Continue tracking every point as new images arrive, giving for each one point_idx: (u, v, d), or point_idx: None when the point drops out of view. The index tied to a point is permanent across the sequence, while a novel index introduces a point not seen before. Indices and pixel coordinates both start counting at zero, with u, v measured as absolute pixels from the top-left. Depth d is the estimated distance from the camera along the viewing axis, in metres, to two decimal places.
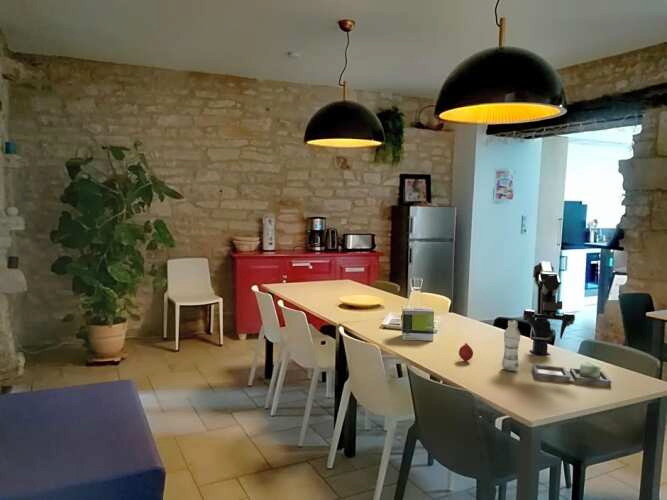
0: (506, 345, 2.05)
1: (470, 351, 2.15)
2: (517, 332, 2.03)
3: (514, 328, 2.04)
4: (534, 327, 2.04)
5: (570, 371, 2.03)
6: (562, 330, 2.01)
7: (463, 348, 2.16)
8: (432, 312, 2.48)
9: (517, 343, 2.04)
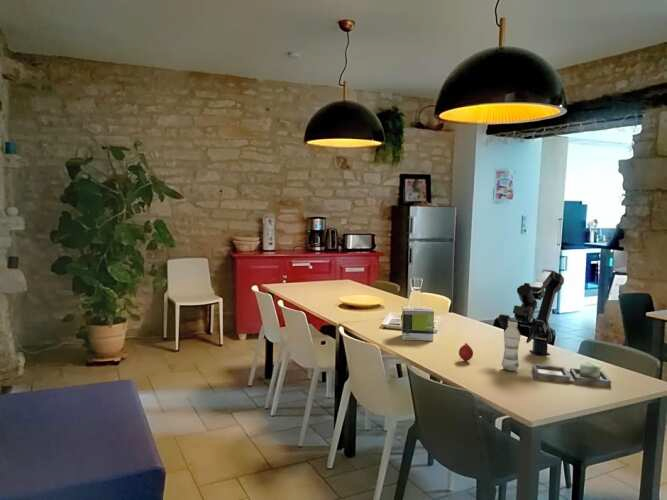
0: (506, 345, 2.05)
1: (470, 351, 2.15)
2: (517, 332, 2.03)
3: (514, 328, 2.04)
4: (504, 330, 2.14)
5: (570, 371, 2.03)
6: (529, 335, 2.07)
7: (463, 348, 2.16)
8: (432, 312, 2.48)
9: (517, 343, 2.04)
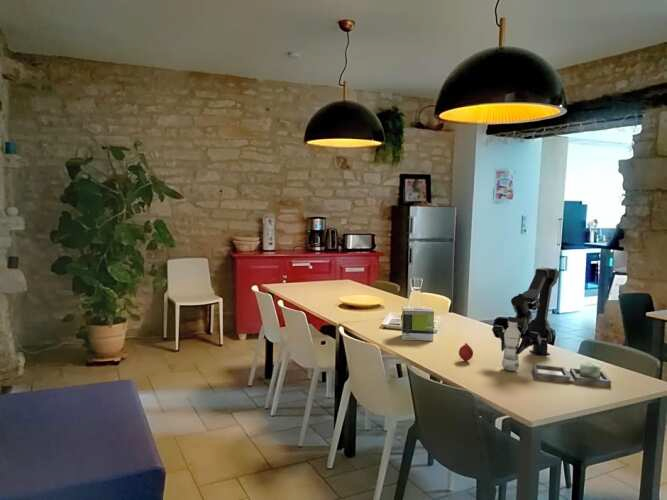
0: (506, 345, 2.05)
1: (470, 351, 2.15)
2: (517, 332, 2.03)
3: (514, 328, 2.04)
4: (502, 342, 2.09)
5: (570, 371, 2.03)
6: (520, 346, 2.04)
7: (463, 348, 2.16)
8: (432, 312, 2.48)
9: (517, 343, 2.04)
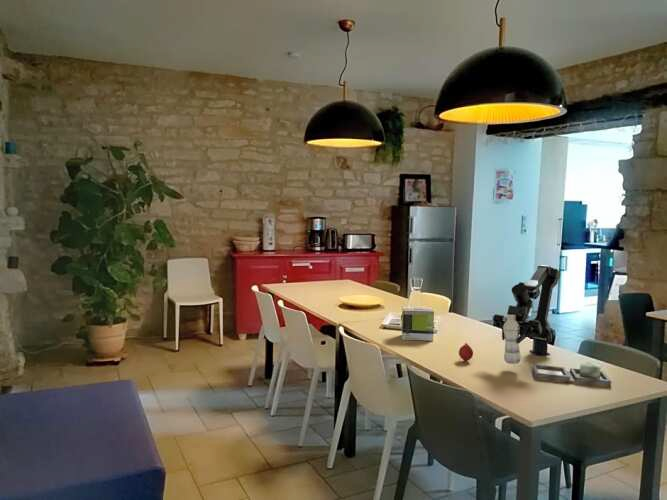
0: (506, 338, 2.05)
1: (470, 351, 2.15)
2: (516, 324, 2.03)
3: (512, 320, 2.04)
4: (503, 331, 2.08)
5: (570, 371, 2.03)
6: (520, 335, 2.04)
7: (463, 348, 2.16)
8: (432, 312, 2.48)
9: (517, 335, 2.03)
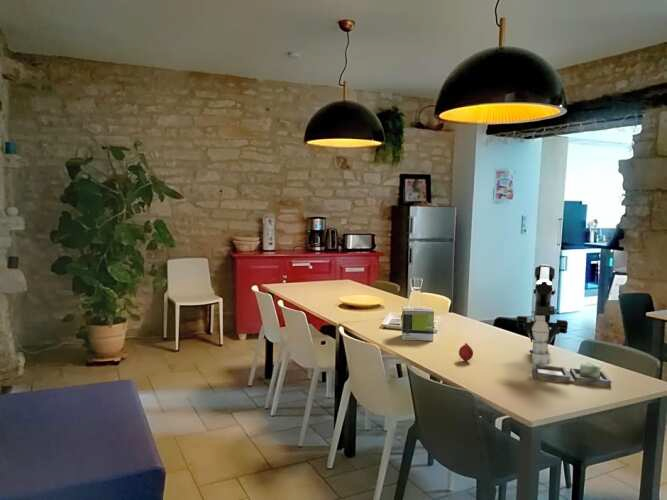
0: (537, 340, 1.99)
1: (470, 351, 2.15)
2: (547, 325, 1.98)
3: (543, 321, 1.98)
4: (530, 333, 2.02)
5: (570, 371, 2.03)
6: (550, 335, 1.99)
7: (463, 348, 2.16)
8: (432, 312, 2.48)
9: (547, 336, 1.99)
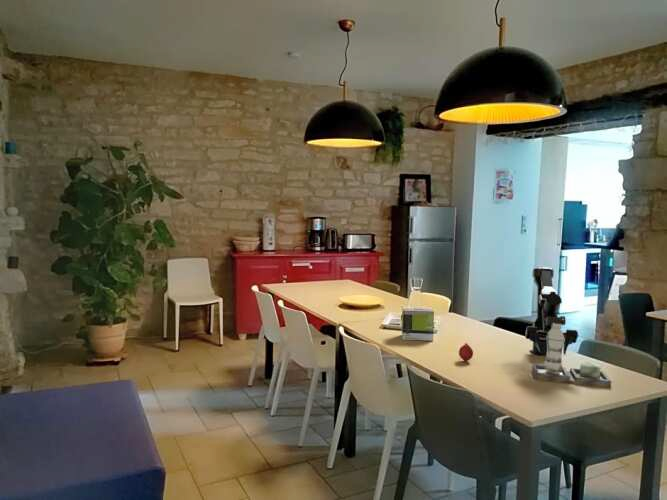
0: (552, 348, 1.98)
1: (470, 351, 2.15)
2: (562, 334, 1.98)
3: (559, 330, 1.98)
4: (538, 343, 2.01)
5: (570, 371, 2.03)
6: (565, 346, 1.98)
7: (463, 348, 2.16)
8: (432, 312, 2.48)
9: (562, 345, 1.98)
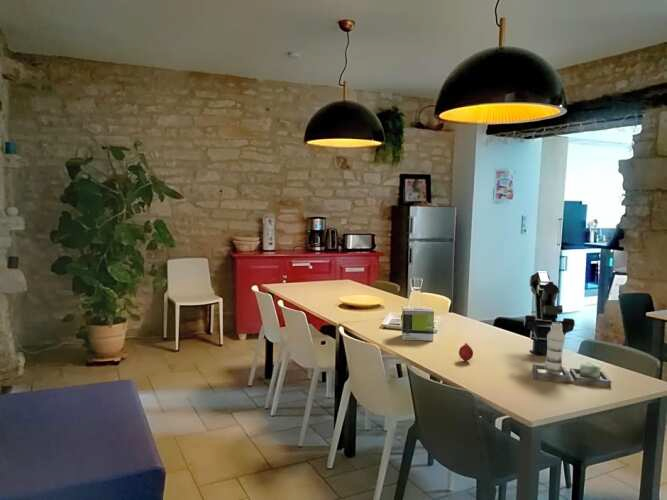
0: (552, 348, 1.98)
1: (470, 351, 2.15)
2: (563, 334, 1.97)
3: (560, 330, 1.97)
4: (536, 331, 2.09)
5: (570, 371, 2.03)
6: None
7: (463, 348, 2.16)
8: (432, 312, 2.48)
9: None
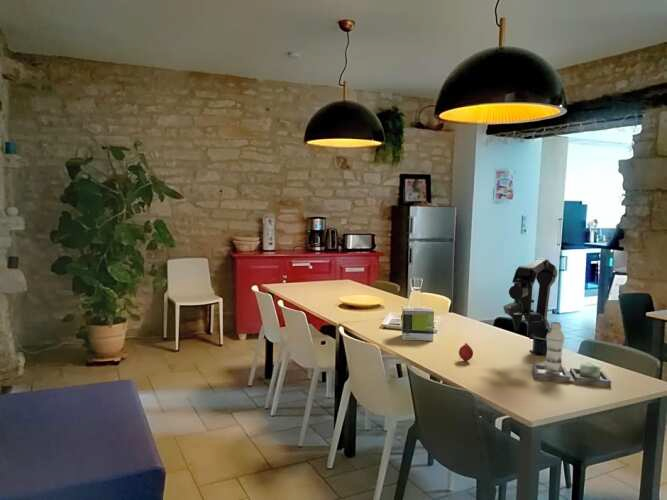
0: (552, 348, 1.98)
1: (470, 351, 2.15)
2: (562, 334, 1.97)
3: (559, 330, 1.98)
4: (513, 323, 2.19)
5: (570, 371, 2.03)
6: (527, 329, 2.09)
7: (463, 348, 2.16)
8: (432, 312, 2.48)
9: (562, 345, 1.98)
